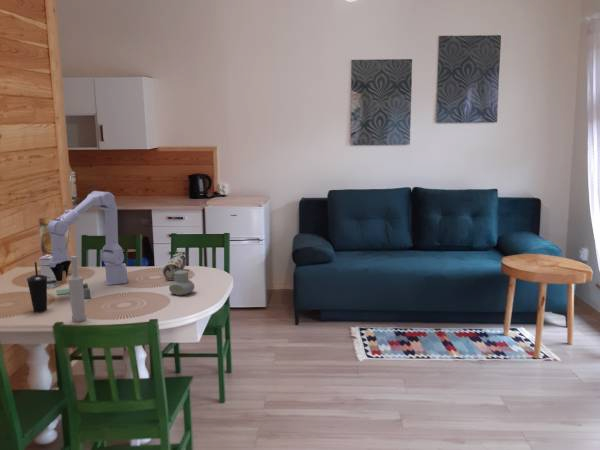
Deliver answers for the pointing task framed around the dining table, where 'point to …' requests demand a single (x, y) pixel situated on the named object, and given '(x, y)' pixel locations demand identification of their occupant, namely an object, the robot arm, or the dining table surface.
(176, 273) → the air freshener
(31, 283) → the drinking cup
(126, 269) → the robot arm
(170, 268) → the pencil case
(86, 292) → the channel
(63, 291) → the mat
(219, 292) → the dining table surface
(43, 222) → the pancake mix bag
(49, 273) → the syrup box
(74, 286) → the bottle
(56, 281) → the plug
